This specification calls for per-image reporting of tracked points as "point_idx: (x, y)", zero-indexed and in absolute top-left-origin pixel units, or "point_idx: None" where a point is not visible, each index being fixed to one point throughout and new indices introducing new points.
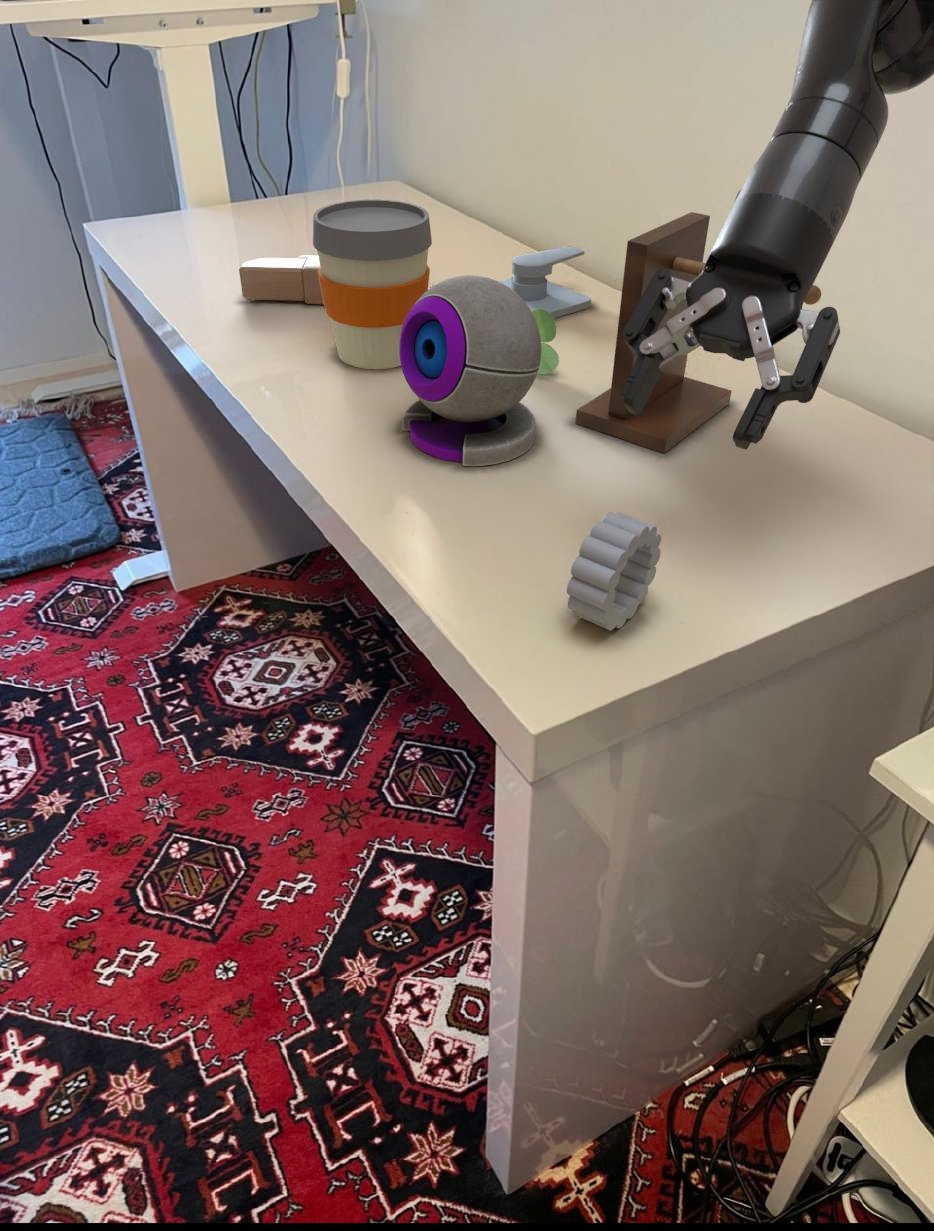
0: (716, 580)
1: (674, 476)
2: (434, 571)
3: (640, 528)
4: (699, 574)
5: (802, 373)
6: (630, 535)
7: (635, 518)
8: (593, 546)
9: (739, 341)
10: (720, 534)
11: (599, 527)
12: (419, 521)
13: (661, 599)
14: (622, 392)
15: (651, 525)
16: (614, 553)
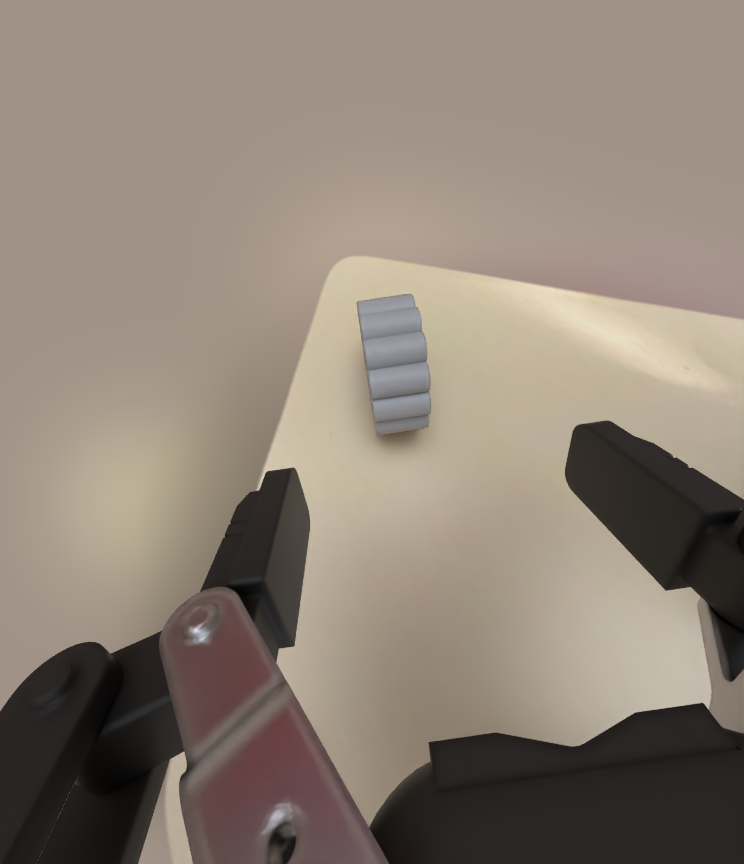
0: (348, 530)
1: (564, 741)
2: (561, 319)
3: (368, 343)
4: (369, 525)
5: (31, 725)
6: (365, 320)
7: (402, 379)
8: (396, 297)
9: (454, 798)
10: (405, 632)
11: (409, 309)
12: (660, 366)
13: (370, 452)
14: (639, 439)
15: (373, 380)
16: (366, 301)
